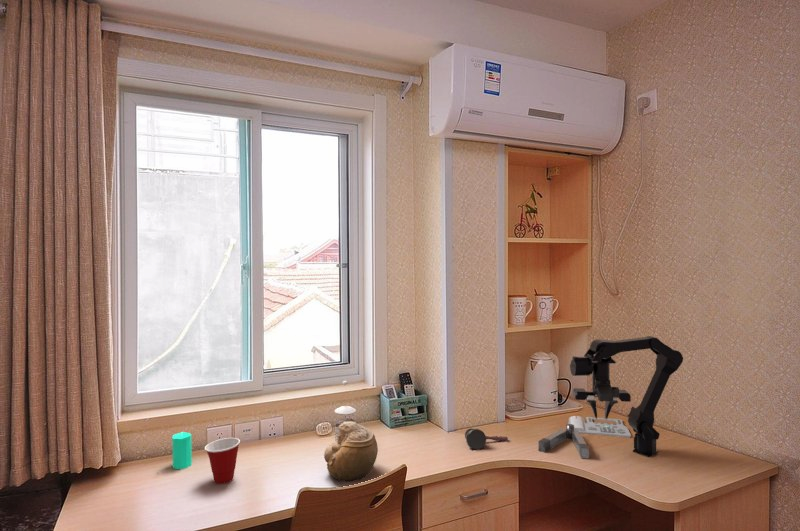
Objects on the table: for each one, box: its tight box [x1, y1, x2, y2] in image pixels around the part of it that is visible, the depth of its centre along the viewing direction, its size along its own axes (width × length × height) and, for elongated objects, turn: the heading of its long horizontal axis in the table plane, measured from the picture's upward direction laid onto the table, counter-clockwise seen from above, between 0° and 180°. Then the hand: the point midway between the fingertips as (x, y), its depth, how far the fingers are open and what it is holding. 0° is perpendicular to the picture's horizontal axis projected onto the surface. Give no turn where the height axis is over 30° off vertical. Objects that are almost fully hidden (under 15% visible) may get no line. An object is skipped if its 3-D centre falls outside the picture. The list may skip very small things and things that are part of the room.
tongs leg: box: [571, 430, 590, 459], centre depth 180 cm, size 18×3×4 cm, turn 171°
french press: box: [333, 380, 357, 442], centre depth 185 cm, size 10×12×25 cm
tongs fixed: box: [538, 423, 574, 453], centre depth 185 cm, size 22×4×5 cm, turn 136°
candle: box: [171, 431, 193, 470], centre depth 169 cm, size 6×6×12 cm
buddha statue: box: [323, 421, 379, 483], centre depth 161 cm, size 20×17×17 cm
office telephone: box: [567, 415, 632, 439], centre depth 204 cm, size 23×3×20 cm
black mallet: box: [464, 428, 509, 451], centre depth 185 cm, size 8×18×8 cm
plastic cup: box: [204, 437, 241, 485], centre depth 157 cm, size 11×11×12 cm
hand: (601, 418), depth 176 cm, fingers open, 3 cm apart
